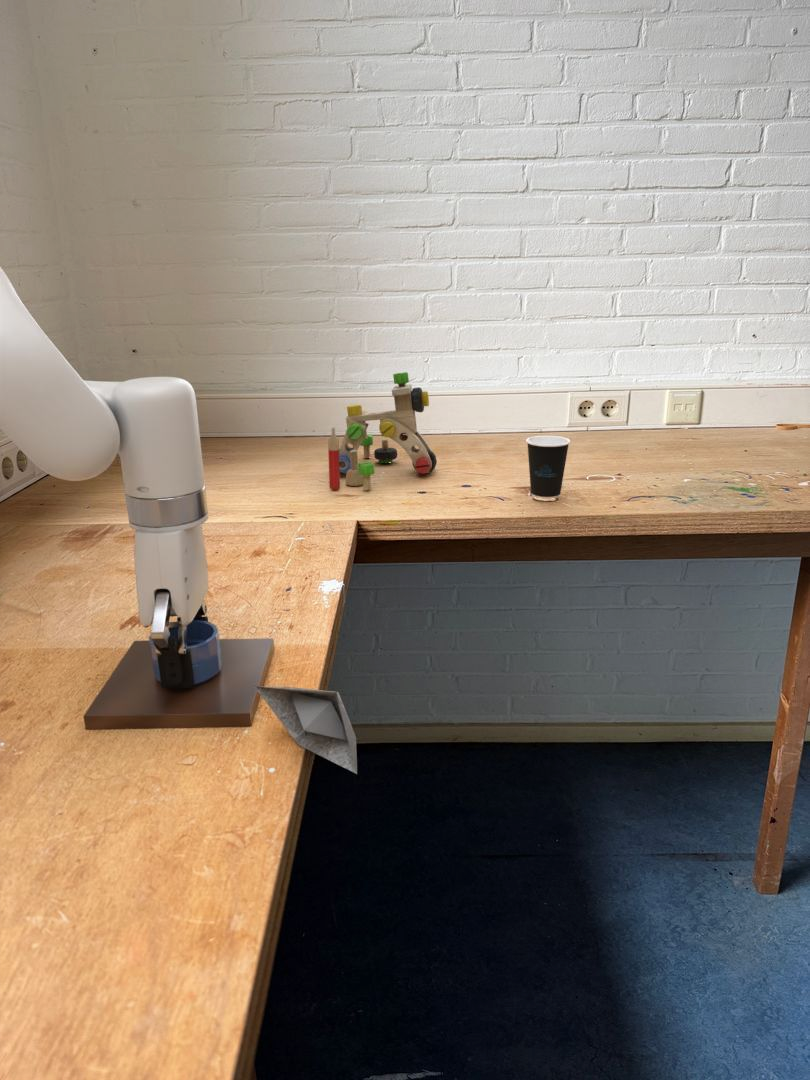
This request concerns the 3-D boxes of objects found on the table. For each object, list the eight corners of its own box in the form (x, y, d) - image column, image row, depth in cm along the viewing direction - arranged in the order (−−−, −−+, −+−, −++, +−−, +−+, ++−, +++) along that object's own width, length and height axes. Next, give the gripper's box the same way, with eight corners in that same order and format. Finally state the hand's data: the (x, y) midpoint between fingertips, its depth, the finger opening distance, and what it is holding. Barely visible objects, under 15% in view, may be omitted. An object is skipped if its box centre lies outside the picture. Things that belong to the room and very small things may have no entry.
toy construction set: (388, 499, 149) (386, 388, 142) (291, 484, 159) (285, 380, 152) (453, 467, 171) (454, 369, 164) (364, 456, 181) (361, 363, 174)
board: (85, 729, 77) (83, 716, 77) (135, 652, 92) (134, 640, 92) (251, 726, 77) (249, 713, 77) (274, 649, 92) (273, 638, 92)
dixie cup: (536, 506, 143) (539, 446, 140) (516, 494, 150) (518, 437, 147) (575, 501, 146) (578, 442, 142) (553, 490, 153) (556, 433, 149)
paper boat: (396, 723, 75) (371, 755, 66) (358, 773, 76) (328, 812, 67) (298, 644, 77) (260, 665, 68) (262, 695, 78) (220, 723, 69)
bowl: (146, 690, 81) (140, 649, 79) (164, 658, 87) (159, 620, 86) (214, 689, 81) (210, 648, 79) (227, 657, 88) (223, 619, 86)
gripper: (154, 483, 86) (173, 632, 92) (98, 537, 70) (125, 713, 76) (224, 482, 86) (238, 630, 92) (184, 535, 70) (204, 711, 76)
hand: (187, 666), depth 84 cm, fingers closed on bowl, 7 cm apart
